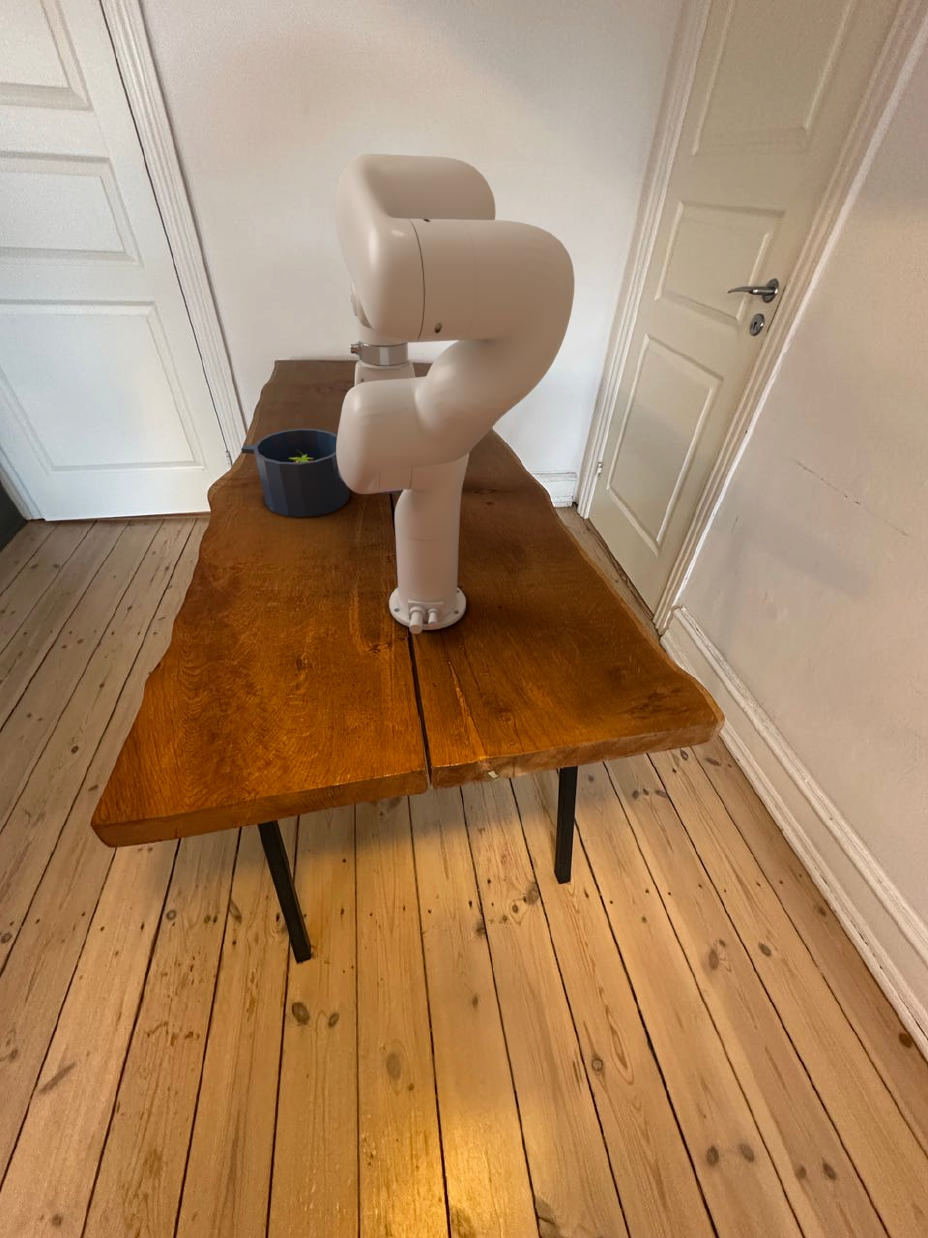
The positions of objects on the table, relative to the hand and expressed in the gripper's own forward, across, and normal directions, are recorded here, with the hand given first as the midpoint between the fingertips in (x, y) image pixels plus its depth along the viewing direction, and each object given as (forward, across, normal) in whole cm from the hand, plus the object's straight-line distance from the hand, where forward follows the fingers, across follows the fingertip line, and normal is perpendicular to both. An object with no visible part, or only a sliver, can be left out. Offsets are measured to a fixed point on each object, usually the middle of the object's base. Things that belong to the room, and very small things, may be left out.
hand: (390, 464), depth 97 cm
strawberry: (+14, -20, +15) cm, 29 cm away
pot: (+14, -20, +15) cm, 29 cm away
